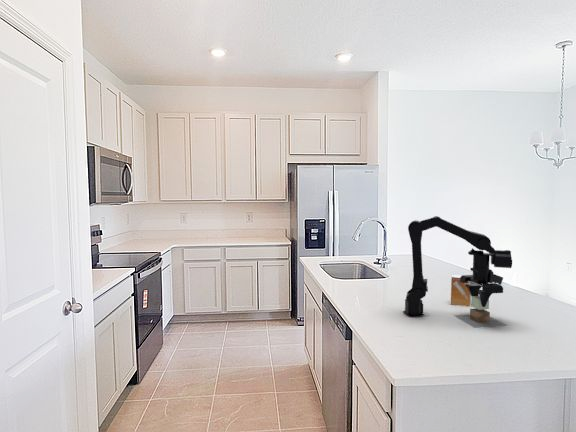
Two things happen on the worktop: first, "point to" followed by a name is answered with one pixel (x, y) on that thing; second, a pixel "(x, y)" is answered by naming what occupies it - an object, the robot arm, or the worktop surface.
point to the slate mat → (474, 324)
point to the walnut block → (479, 315)
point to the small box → (459, 292)
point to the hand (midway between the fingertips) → (479, 304)
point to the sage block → (478, 303)
